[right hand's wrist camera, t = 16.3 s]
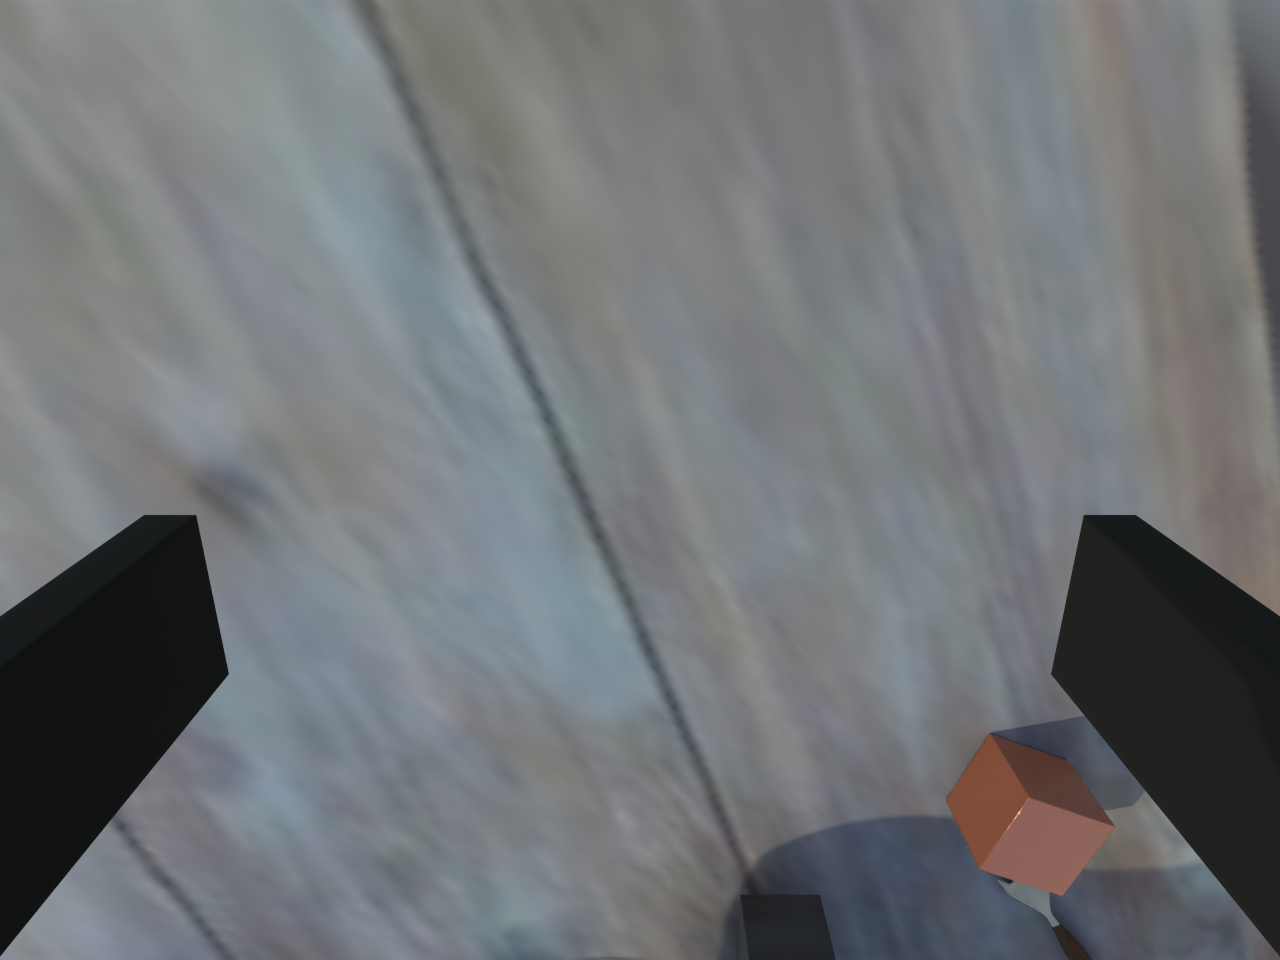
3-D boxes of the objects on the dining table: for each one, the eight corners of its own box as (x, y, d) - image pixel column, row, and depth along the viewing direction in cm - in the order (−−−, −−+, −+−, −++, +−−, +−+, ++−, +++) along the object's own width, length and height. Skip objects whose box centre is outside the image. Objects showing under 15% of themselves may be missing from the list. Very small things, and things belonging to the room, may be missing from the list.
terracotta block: (989, 732, 46) (1029, 797, 41) (1067, 760, 46) (1116, 826, 42) (945, 800, 47) (978, 869, 43) (1021, 825, 48) (1062, 896, 43)
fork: (1094, 1012, 53) (1110, 1044, 51) (980, 855, 49) (994, 883, 47) (1132, 996, 53) (1150, 1026, 51) (1021, 835, 48) (1036, 862, 46)
